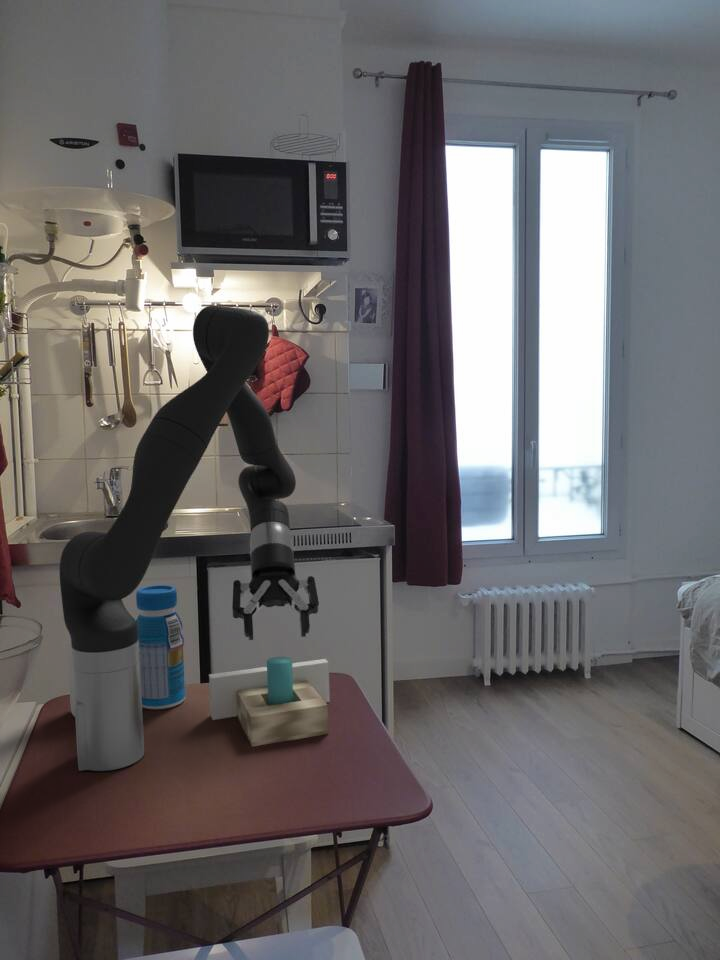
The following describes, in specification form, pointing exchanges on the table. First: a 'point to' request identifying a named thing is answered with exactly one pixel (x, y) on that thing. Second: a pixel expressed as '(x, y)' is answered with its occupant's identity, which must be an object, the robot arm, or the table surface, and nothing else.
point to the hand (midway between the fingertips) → (277, 636)
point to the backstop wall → (261, 684)
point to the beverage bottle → (160, 647)
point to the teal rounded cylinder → (279, 680)
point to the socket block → (282, 715)
